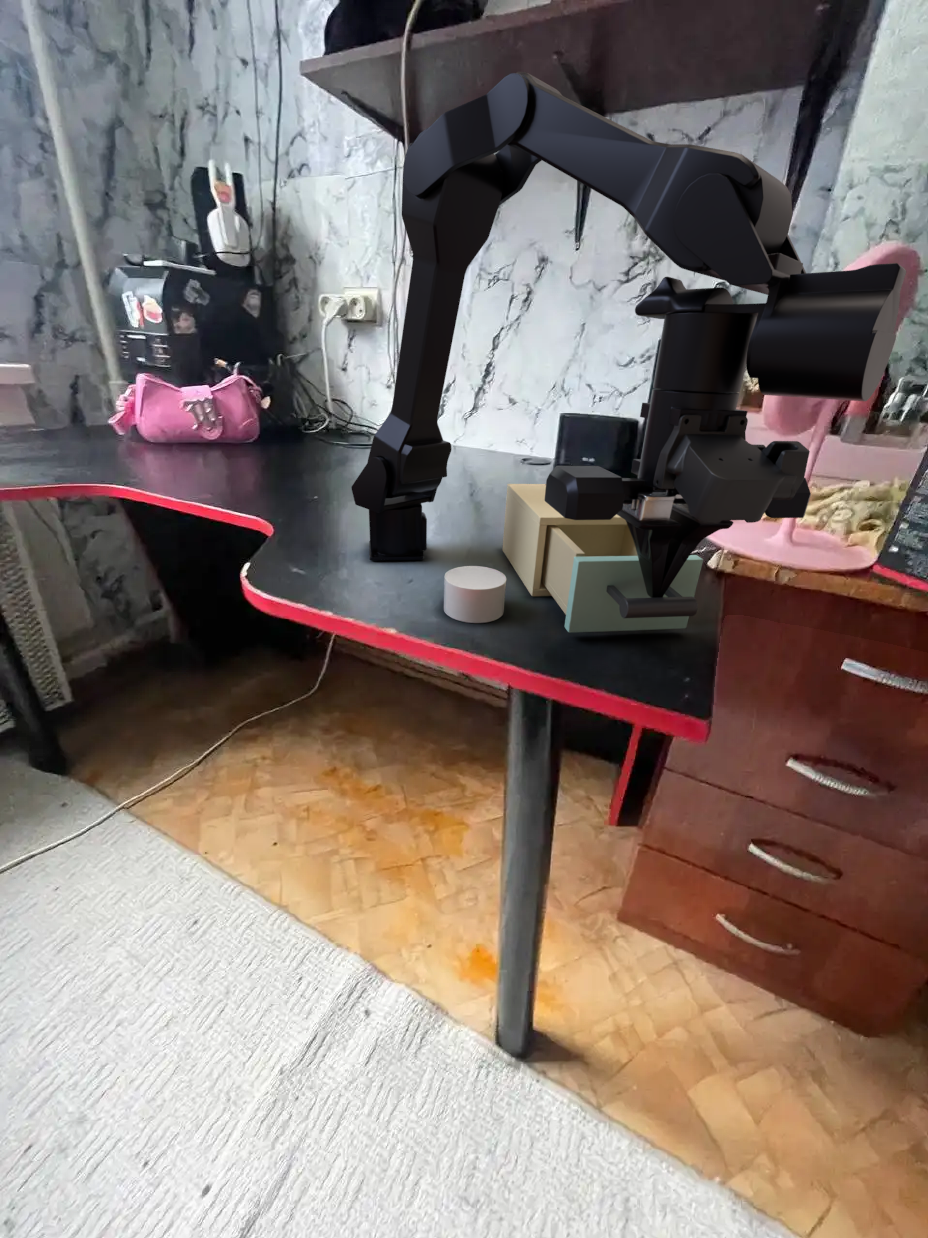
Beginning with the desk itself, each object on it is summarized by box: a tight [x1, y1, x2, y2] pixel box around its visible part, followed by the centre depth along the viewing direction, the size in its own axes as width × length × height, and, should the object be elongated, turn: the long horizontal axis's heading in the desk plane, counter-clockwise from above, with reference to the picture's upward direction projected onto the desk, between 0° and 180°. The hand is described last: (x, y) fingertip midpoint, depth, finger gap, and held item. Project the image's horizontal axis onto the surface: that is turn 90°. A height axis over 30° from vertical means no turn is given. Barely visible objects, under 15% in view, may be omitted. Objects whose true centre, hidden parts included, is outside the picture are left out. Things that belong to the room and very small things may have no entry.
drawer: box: [541, 525, 704, 634], centre depth 52 cm, size 18×11×7 cm, turn 9°
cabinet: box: [502, 483, 627, 597], centre depth 63 cm, size 15×13×9 cm
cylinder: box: [443, 565, 507, 624], centre depth 54 cm, size 6×6×4 cm
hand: (654, 596), depth 45 cm, fingers closed, pressing on drawer
